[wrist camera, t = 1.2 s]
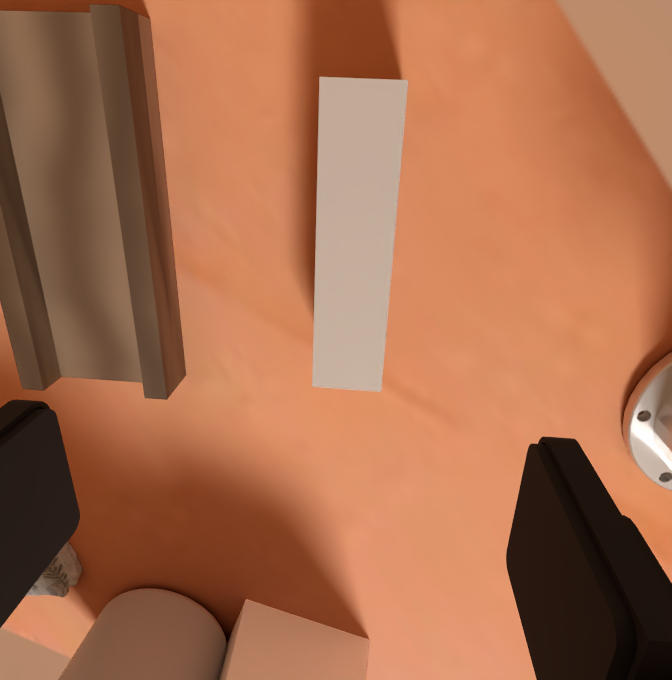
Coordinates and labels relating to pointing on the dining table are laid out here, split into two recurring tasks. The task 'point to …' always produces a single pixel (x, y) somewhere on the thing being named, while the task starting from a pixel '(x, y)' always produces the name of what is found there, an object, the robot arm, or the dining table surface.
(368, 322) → the beige rectangular block
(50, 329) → the brown long channel piece
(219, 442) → the dining table surface
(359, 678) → the milk
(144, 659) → the cylinder vase
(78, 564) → the fossil rock
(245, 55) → the dining table surface
